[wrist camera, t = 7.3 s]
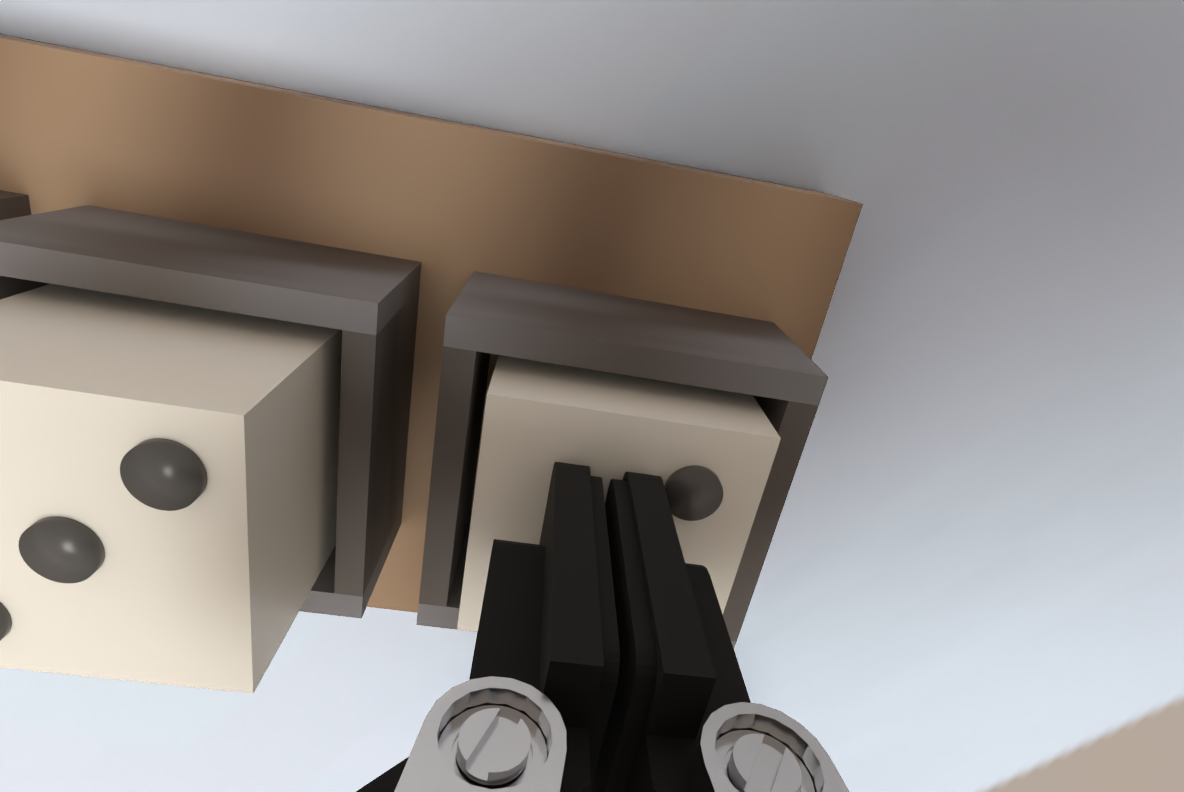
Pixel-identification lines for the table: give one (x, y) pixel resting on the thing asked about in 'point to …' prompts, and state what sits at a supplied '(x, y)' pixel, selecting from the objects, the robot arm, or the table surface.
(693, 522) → the two dot button
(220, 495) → the three dot button
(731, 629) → the button panel
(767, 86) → the table surface
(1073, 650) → the table surface
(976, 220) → the table surface
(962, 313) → the table surface
